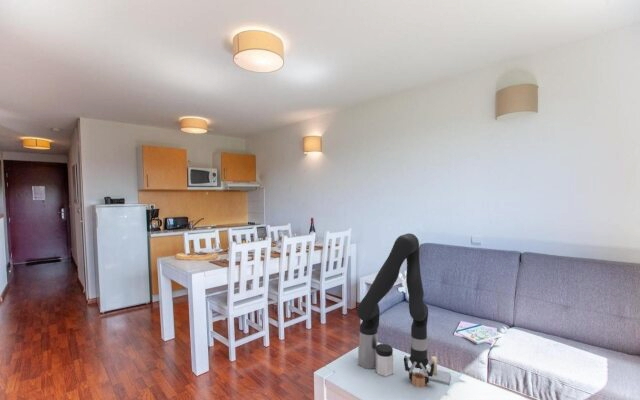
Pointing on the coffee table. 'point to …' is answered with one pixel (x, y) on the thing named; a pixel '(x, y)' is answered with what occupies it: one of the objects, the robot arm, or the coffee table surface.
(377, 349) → the jar
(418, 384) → the ring
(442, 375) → the post block
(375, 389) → the coffee table surface
